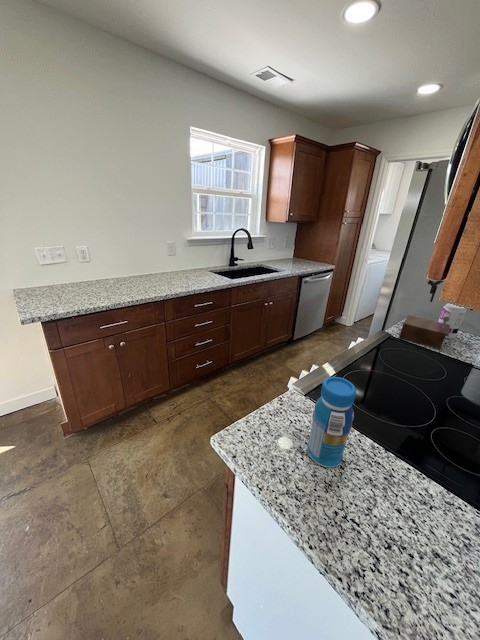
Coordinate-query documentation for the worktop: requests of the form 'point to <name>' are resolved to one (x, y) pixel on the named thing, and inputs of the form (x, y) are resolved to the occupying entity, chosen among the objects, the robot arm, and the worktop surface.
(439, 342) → the storage bin
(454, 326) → the supplement can
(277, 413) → the worktop surface
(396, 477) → the worktop surface
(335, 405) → the beverage bottle
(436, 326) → the bin lid
